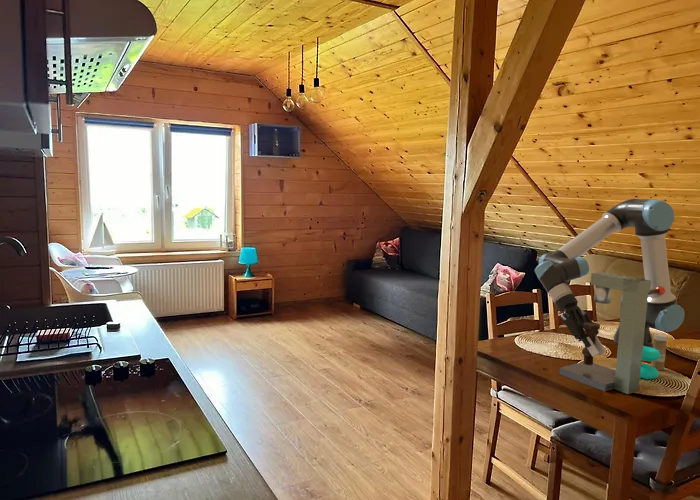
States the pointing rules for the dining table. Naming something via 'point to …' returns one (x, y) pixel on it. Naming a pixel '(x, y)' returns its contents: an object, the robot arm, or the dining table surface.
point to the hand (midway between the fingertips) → (599, 353)
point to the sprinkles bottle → (661, 347)
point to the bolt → (591, 334)
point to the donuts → (648, 370)
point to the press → (629, 334)
